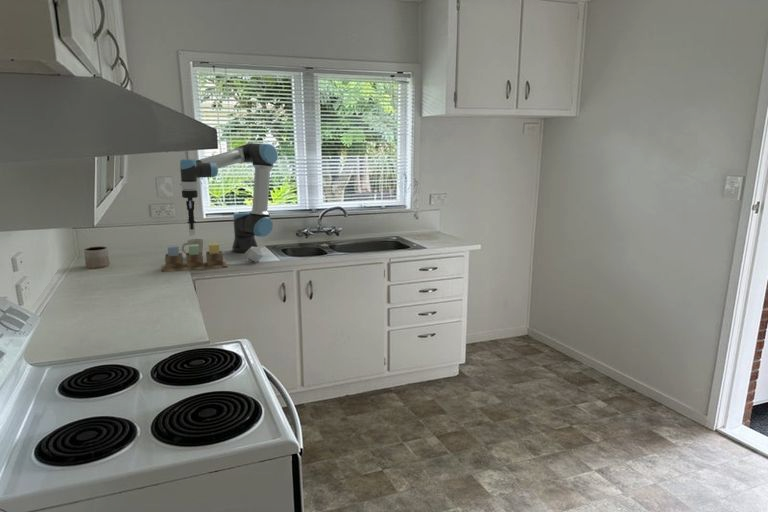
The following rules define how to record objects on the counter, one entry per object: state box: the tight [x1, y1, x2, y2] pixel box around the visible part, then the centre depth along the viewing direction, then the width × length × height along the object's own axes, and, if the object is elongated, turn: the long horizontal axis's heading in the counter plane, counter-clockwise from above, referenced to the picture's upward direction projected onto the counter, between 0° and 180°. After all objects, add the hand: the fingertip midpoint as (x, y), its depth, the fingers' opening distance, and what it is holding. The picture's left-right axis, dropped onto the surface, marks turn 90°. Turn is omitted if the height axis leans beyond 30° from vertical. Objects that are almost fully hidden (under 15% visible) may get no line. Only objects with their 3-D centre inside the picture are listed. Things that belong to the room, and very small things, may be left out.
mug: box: [181, 238, 204, 255], centre depth 289 cm, size 8×13×10 cm, turn 89°
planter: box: [83, 246, 110, 269], centre depth 267 cm, size 11×11×10 cm
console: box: [161, 250, 228, 273], centre depth 269 cm, size 32×13×7 cm, turn 110°
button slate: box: [167, 244, 180, 256], centre depth 264 cm, size 5×5×7 cm
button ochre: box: [208, 242, 220, 254], centre depth 271 cm, size 5×5×7 cm
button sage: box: [188, 244, 199, 255], centre depth 268 cm, size 5×5×7 cm
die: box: [244, 246, 264, 263], centre depth 282 cm, size 8×9×10 cm
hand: (192, 235), depth 266 cm, fingers closed
